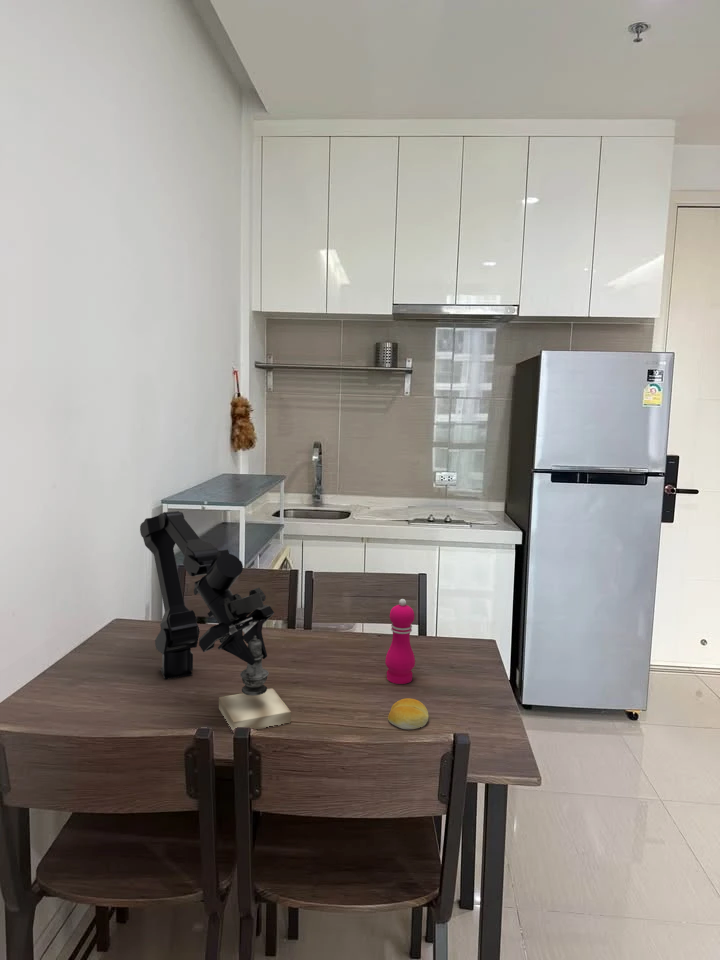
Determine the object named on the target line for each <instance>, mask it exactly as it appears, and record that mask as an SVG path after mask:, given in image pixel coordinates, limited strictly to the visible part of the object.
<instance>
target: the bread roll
mask: <svg viewBox="0 0 720 960" xmlns="http://www.w3.org/2000/svg"><path fill="white" fill-rule="evenodd" d="M429 717H430V716H429V710H428V709H427V707H426V705H425V704H423V703H422V702H421V701H420V700H418V699H415V698H409V697H408V698H407V697H405V698H402V699H399V700H398V701H396V702H395V703H393V704H392V705H391V709H390V711H389V713H388V716H387V719H388V722H389V724H392V725H393V726H395V727H397V728H399V729H402V730H415V729H420V727H421V728H423V727H425V725H427V723H428V721H429Z"/></svg>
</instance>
